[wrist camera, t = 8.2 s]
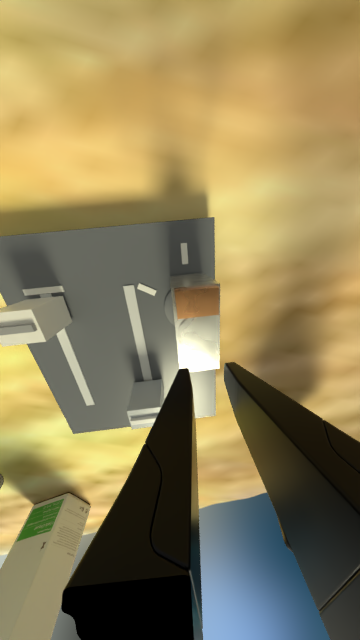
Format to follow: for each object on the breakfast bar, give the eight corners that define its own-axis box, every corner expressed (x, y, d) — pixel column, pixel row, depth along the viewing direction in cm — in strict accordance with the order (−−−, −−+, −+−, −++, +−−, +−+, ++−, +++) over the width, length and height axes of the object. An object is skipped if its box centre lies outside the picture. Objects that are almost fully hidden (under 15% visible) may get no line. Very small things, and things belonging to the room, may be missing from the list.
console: (211, 402, 23) (216, 417, 21) (81, 418, 23) (72, 435, 21) (208, 221, 15) (215, 216, 13) (-2, 240, 14) (-31, 238, 12)
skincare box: (70, 490, 29) (-25, 724, 15) (93, 505, 32) (32, 718, 17) (31, 505, 30) (-94, 738, 16) (57, 518, 32) (-30, 731, 18)
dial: (204, 335, 16) (221, 373, 11) (176, 338, 16) (180, 378, 11) (202, 272, 14) (222, 285, 9) (169, 275, 14) (171, 290, 9)
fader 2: (164, 395, 19) (163, 428, 16) (138, 398, 19) (131, 432, 15) (161, 379, 18) (160, 410, 15) (133, 382, 18) (125, 414, 15)
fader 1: (72, 321, 15) (43, 343, 11) (38, 325, 15) (-2, 348, 11) (62, 295, 14) (27, 310, 10) (26, 299, 14) (-22, 315, 10)
